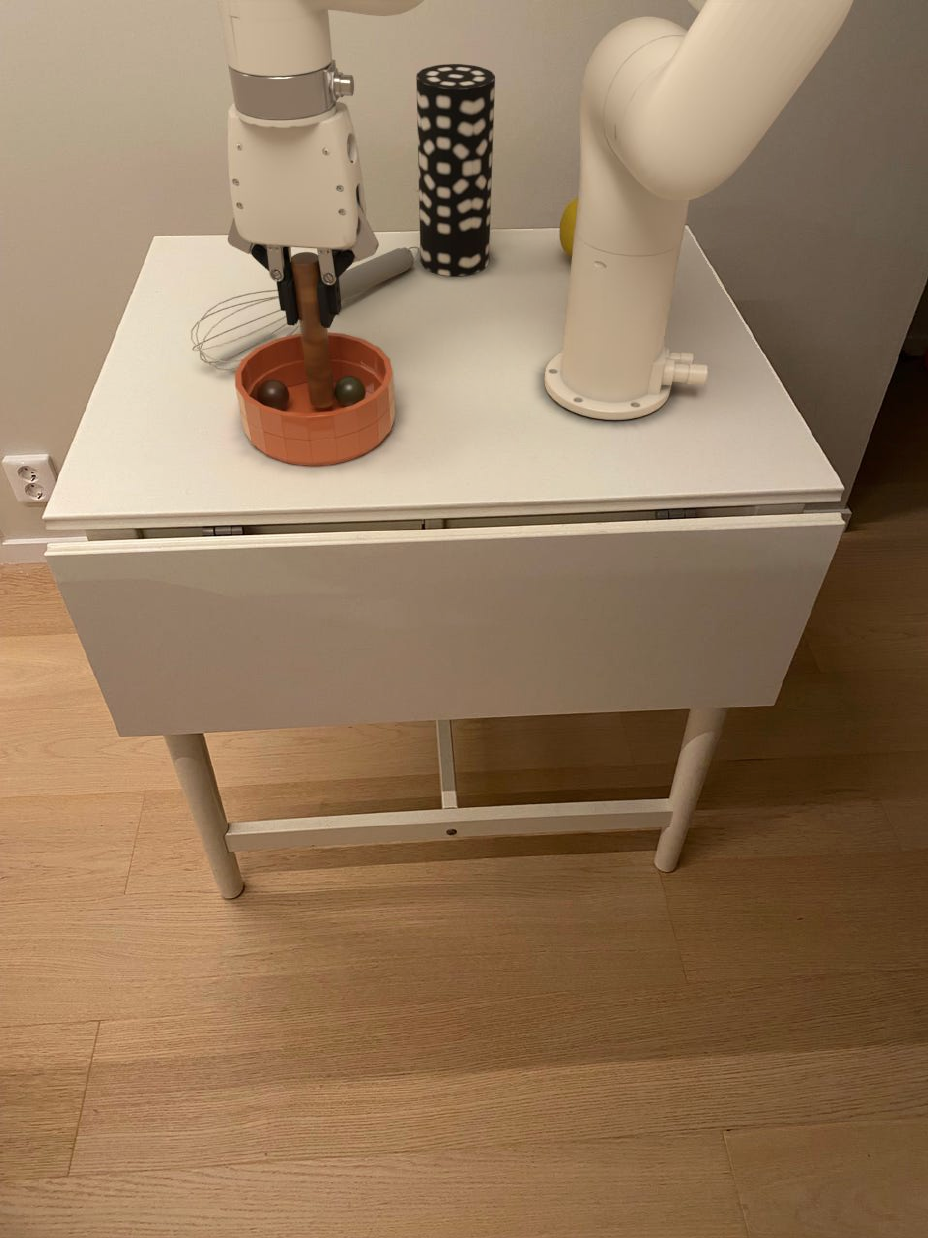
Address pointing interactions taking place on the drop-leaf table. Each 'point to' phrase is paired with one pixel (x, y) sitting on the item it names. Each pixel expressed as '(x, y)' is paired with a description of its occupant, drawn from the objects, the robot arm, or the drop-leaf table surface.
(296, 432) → the bowl
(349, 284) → the kitchen whisk
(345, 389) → the bead
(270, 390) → the bead
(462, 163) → the white-spotted black cylinder
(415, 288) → the drop-leaf table surface
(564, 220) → the lemon
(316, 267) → the stirring stick
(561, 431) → the drop-leaf table surface
